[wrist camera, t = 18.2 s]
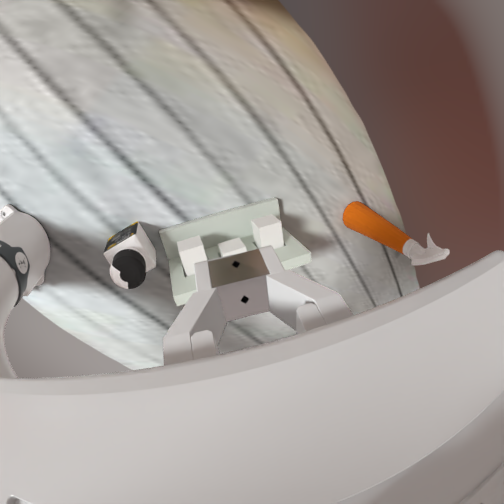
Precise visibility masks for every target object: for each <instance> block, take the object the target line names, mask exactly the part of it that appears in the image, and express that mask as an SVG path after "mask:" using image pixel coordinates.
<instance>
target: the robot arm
mask: <svg viewBox="0 0 504 504" xmlns="http://www.w3.org/2000/svg"><path fill="white" fill-rule="evenodd" d="M4 212H5V214H4ZM49 259H50V244H49V240H48V237H47V234H46V232H45V230H44V229H43V227H42V226H41V224H40V223H39V222H38V221H37V220H36V219H35V218H33V217H32V216H30V215H28V214H26V213H22V212H19V211H17V210H16V209H15V208H14V207H13V206H12V205H10V204H7V205H5V206H4V207H3V208H2V209H1V210H0V504H504V251H500V250H497V251H494V252H492V253H490V254H489V255H487V256H485V257H484V258H482V259H480V260H478V261H476V262H475V263H472V264H471V265H469V266H467V267H465V268H463V269H461V270H459V271H457V272H455V273H453V274H451V275H449V276H447V277H445V278H443V279H440V280H439V281H436V282H434V283H432V284H430V285H428V286H425V287H423V288H421V289H419V290H416V291H414V292H412V293H409V294H407V295H405V296H402V297H400V298H397V299H395V300H393V301H390V302H388V303H385V304H383V305H380V306H378V307H375V308H372V309H370V310H367V311H364V312H362V313H359V314H356V315H353V314H352V312H351V310H350V309H349V307H348V306H347V304H346V303H345V301H344V300H343V298H342V297H341V295H340V293H338V292H335V291H333V290H331V289H329V288H327V287H325V286H323V285H321V284H318V283H316V282H314V281H312V280H310V279H308V278H306V277H304V276H301V275H299V274H297V273H295V272H293V271H291V270H285V269H284V267H283V266H282V264H281V262H280V260H279V258H278V256H277V254H276V252H275V250H274V249H273V247H272V246H271V245H269V246H265V247H261V248H258V249H255V250H251V251H247V252H243V253H238V254H234V255H229V256H224V257H219V258H215V259H210V260H208V261H207V260H206V261H201V262H197V263H194V271H195V280H196V289H197V292H194V293H193V294H192V295H191V297H190V298H189V300H188V301H187V303H186V304H185V306H184V307H183V309H182V310H181V312H180V313H179V315H178V316H177V318H176V319H175V321H174V322H173V324H172V325H171V327H170V328H169V330H168V331H167V333H166V334H165V336H164V337H163V353H164V366H158V367H152V368H146V369H139V370H131V371H124V372H116V373H107V374H97V375H86V376H73V377H55V378H18V377H17V375H16V374H15V372H14V370H13V368H12V366H11V364H10V362H9V359H8V356H7V353H6V349H5V343H4V331H5V326H6V323H7V321H8V318H9V316H10V313H11V311H12V309H13V307H15V306H16V305H17V304H18V302H19V301H20V300H21V299H22V297H23V296H28V295H29V294H30V292H31V291H32V290H33V288H34V287H35V286H39V285H42V283H43V282H44V272H45V269H46V267H47V265H48V263H49ZM268 311H270V312H271V313H272V314H274V315H275V316H276V317H278V318H279V319H280V320H282V321H283V322H284V323H286V324H287V325H289V326H290V327H291V328H293V329H294V330H295V331H296V335H293V336H289V337H286V338H282V339H279V340H275V341H272V342H268V343H264V344H261V345H257V346H253V347H249V348H245V349H241V350H237V351H233V352H228V353H224V354H220V352H219V349H218V347H217V346H218V344H219V341H220V339H221V336H222V334H223V331H224V329H225V326H226V324H227V322H228V321H232V320H236V319H239V318H243V317H246V316H251V315H255V314H259V313H263V312H268Z"/></svg>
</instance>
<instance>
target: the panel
mask: <svg viewBox="0 0 504 504" xmlns="http://www.w3.org/2000/svg"><path fill="white" fill-rule="evenodd" d="M270 214H272V215H274V216H275V217H276V218H277V219H279V220H280V221H281V219H280V211H279V203H278V199H277V198H275V197H274V198H270V199H266V200H263V201H259V202H255V203H251V204H247V205H244V206H240V207H236V208H233V209H229V210H226V211H222V212H218V213H215V214H212V215H208V216H205V217H201V218H198V219H194V220H191V221H188V222H184V223H181V224H178V225H175V226H171V227H168V228H165V229H162V230H159V234H160V237H161V240H162V243H163V246H164V249H165V252H166V255H167V258H168V261H169V269H170V278H171V285H172V293H173V298H174V300H175V303H176V305H177V306H180V305H183V304H186V303H187V301H188V300H189V298H190V297H191V295H192V294H193V293H194V292H197V289H196V280H195V275H192V276H188V277H186V276H185V269H184V267H183V264H182V261H181V258H180V255H179V251H178V246H177V242H179V241H182V240H185V239H188V238H192V237H195V236H198V235H199V236H200V238H201V241H202V243H203V247H204V250H205V254H206V257H207V261H208V260H210V259H215V258H219V257H221V256H220V252H219V248H218V244H219V243H222V242H225V241H229V240H232V239H235V238H240V239H241V241H242V242H243V243H244V245H245V246H246V250H247V251H251V250H255V249H257V248H256V246H255V240H254V235H253V229H252V223H251V220H253V219H256V218H260V217H263V216H267V215H270ZM282 233H283V241H284V247H281V248H277V249H274V250H275V252H276V254H277V256H278V258H279V260H280V262H281V264H282V266H283V267H284V269H285V270H290V269H293V268H296V267H299V266H302V265H304V264H307V263H310V262H311V252H310V251H309V250H308V249H307V248H306V247H305V246H303V245H302V244H301V243H300V242H299V241H298V240H297V239H296V238H294V237H293V236H292V235H291V234H290V233H289V232H288V231H286V230H285V229H284V228H283V227H282Z"/></svg>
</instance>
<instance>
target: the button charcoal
mask: <svg viewBox="0 0 504 504" xmlns="http://www.w3.org/2000/svg"><path fill="white" fill-rule="evenodd" d="M177 246H178V251H179V255H180V258H181V261H182V264H183V267H184V269H185V272H186V275H187V277H188V276H192V275H195V271H194V263H197V262H201V261H206V260H207V257H206V254H205V250H204V247H203V243H202V241H201V238H200V236H199V235H198V236H195V237H192V238H188V239H185V240H182V241H179V242H177Z"/></svg>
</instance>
